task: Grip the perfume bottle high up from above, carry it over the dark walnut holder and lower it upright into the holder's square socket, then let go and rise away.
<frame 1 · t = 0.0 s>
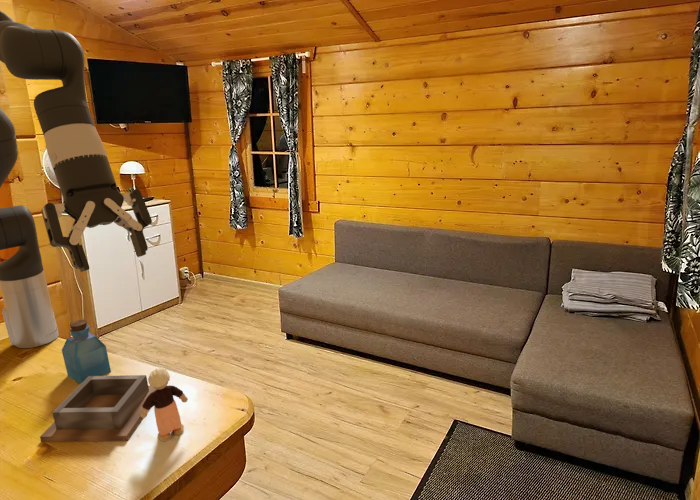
hand: (114, 263, 73), 31 cm above the table, tool tilted 20°, fingers open, 8 cm apart
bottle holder: (106, 413, 89), on the table
perfume bottle: (89, 374, 103), on the table
grandmother figurine: (168, 435, 83), on the table
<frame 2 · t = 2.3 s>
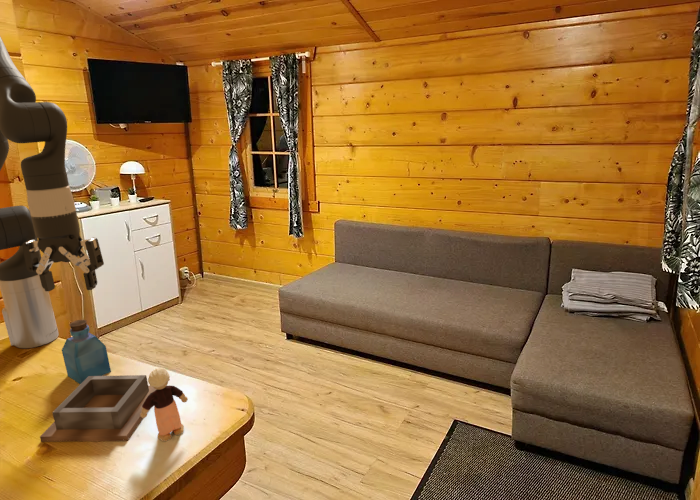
hand: (70, 289, 97), 19 cm above the table, tool pointing down, fingers open, 8 cm apart
nothing on the table moved.
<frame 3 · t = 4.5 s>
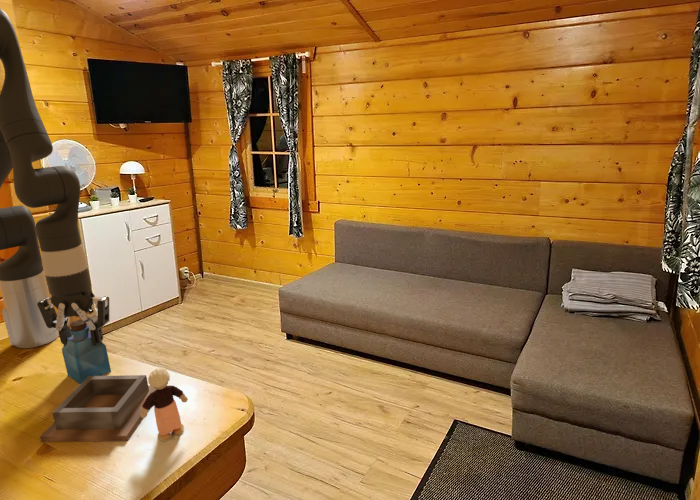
hand: (83, 344, 101), 7 cm above the table, tool pointing down, fingers closed on perfume bottle, 5 cm apart
perfume bottle: (89, 374, 103), on the table, touching gripper
everything else where it was.
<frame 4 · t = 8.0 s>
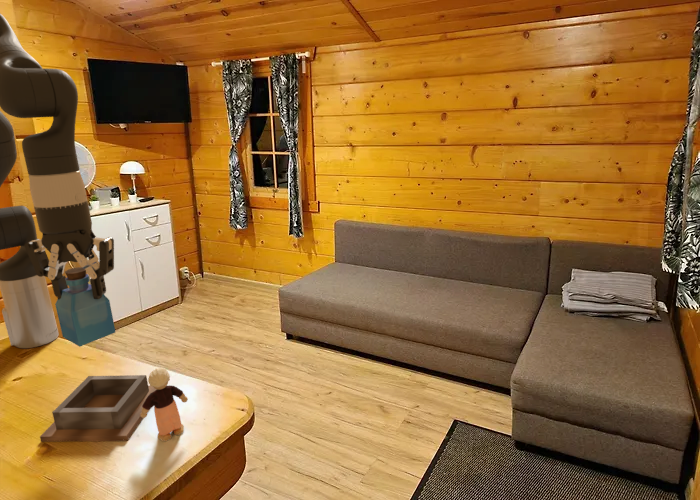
hand: (81, 297, 82), 23 cm above the table, tool pointing down, fingers closed on perfume bottle, 5 cm apart
perfume bottle: (89, 335, 84), point 16 cm above the table, touching gripper
everything else where it was.
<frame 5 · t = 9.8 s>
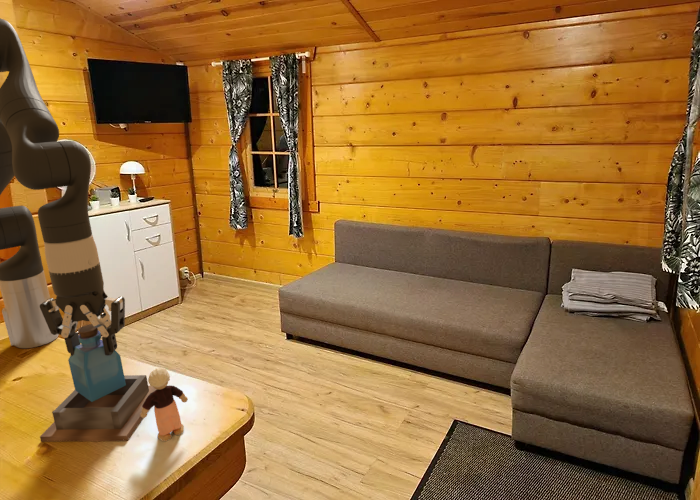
hand: (93, 353, 85), 13 cm above the table, tool pointing down, fingers closed on perfume bottle, 5 cm apart
perfume bottle: (101, 388, 87), point 5 cm above the table, touching gripper
everything else where it was.
when the fingers open (9 cm above the table, at t = 11.4 s): perfume bottle drops 1 cm, resting on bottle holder.
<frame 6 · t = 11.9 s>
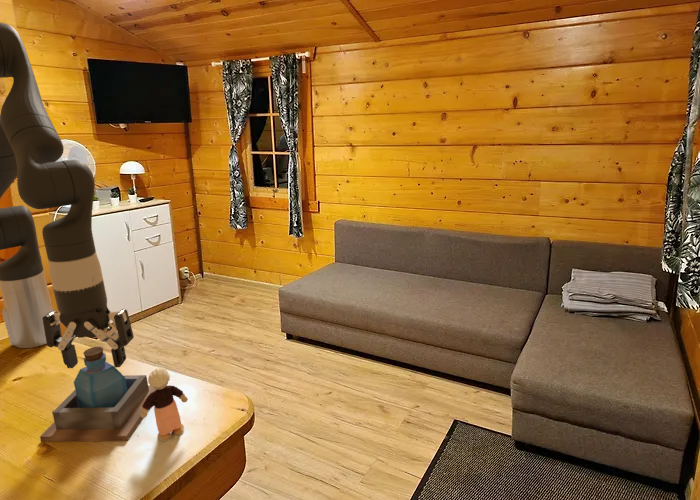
hand: (96, 365, 86), 10 cm above the table, tool pointing down, fingers open, 8 cm apart
perfume bottle: (105, 409, 89), point 1 cm above the table, touching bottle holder
everything else where it was.
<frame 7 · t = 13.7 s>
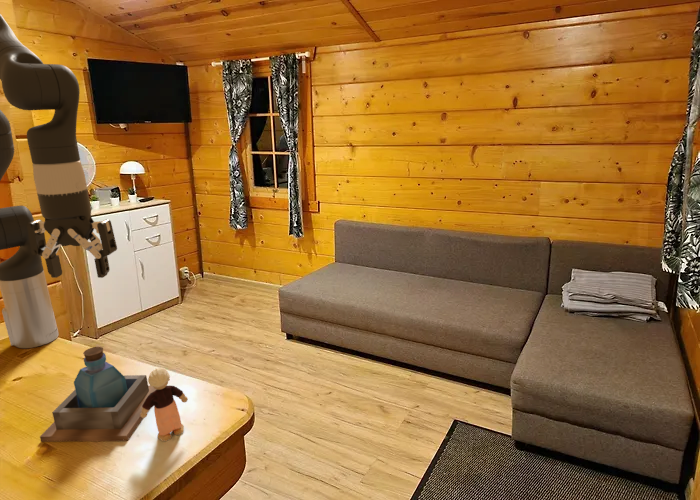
hand: (80, 276, 87), 25 cm above the table, tool pointing down, fingers open, 8 cm apart
nothing on the table moved.
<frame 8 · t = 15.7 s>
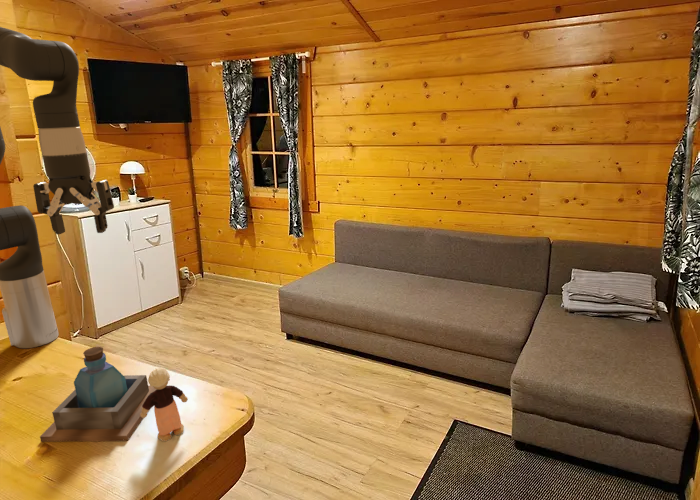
hand: (81, 232, 97), 30 cm above the table, tool pointing down, fingers open, 8 cm apart
nothing on the table moved.
at the end: perfume bottle 0.0 cm off-centre on the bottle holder, point 0.8 cm above the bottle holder's base; perfume bottle tilted 0°; the gripper is holding nothing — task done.
